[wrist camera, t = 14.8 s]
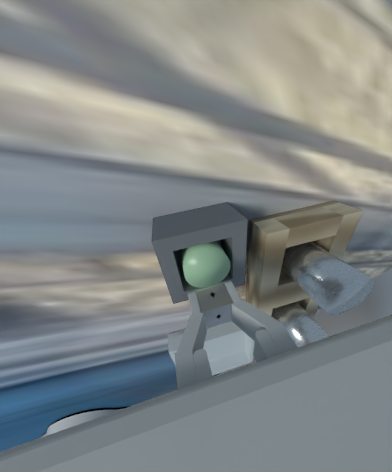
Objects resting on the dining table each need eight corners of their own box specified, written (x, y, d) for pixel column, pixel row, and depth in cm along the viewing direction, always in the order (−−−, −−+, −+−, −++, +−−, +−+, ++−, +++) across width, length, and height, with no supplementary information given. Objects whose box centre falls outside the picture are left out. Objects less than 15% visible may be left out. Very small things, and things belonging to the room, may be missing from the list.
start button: (219, 259, 16) (231, 281, 14) (183, 268, 16) (188, 292, 13) (217, 227, 14) (230, 246, 12) (175, 237, 14) (180, 258, 11)
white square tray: (246, 347, 32) (252, 361, 30) (183, 367, 31) (185, 384, 29) (248, 310, 25) (257, 325, 23) (167, 334, 24) (168, 352, 22)
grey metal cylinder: (303, 259, 20) (363, 305, 14) (272, 269, 20) (320, 320, 14) (308, 230, 18) (383, 270, 12) (273, 241, 18) (331, 288, 12)
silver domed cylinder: (287, 305, 26) (326, 353, 20) (263, 312, 25) (295, 364, 19) (292, 287, 23) (338, 335, 17) (265, 295, 23) (303, 347, 17)
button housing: (228, 258, 18) (244, 284, 15) (170, 273, 18) (173, 303, 14) (226, 202, 15) (247, 219, 11) (152, 217, 14) (151, 241, 11)
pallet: (296, 307, 28) (310, 323, 25) (244, 323, 27) (253, 341, 24) (333, 200, 17) (363, 210, 15) (250, 220, 16) (267, 233, 14)
